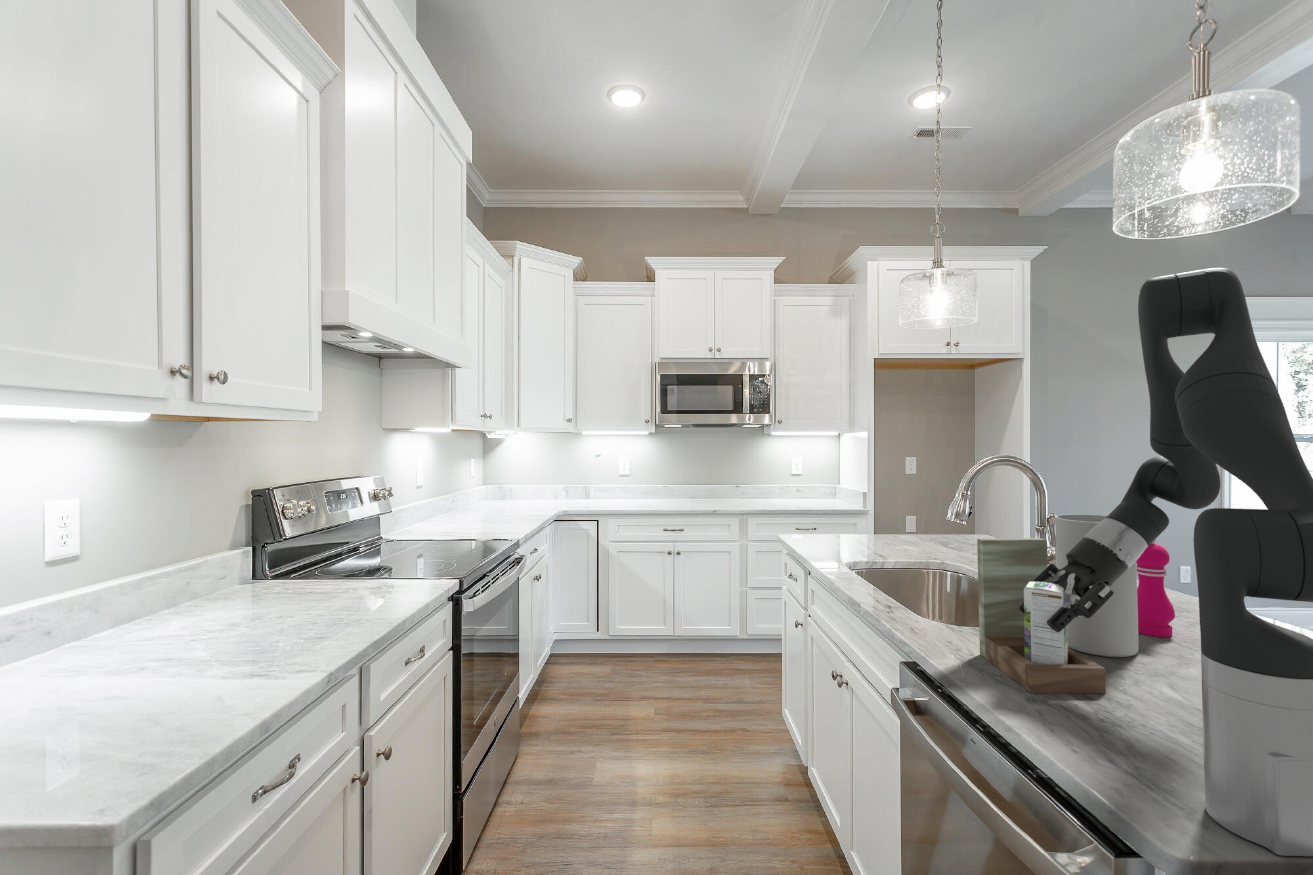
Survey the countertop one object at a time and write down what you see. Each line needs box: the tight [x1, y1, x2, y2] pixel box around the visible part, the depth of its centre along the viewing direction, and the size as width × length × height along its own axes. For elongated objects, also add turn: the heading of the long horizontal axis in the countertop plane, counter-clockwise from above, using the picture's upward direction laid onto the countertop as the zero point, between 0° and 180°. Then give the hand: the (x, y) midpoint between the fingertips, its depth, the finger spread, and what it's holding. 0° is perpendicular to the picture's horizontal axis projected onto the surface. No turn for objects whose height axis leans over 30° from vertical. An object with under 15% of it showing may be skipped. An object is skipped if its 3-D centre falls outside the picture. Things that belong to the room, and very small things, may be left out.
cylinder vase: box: [1054, 513, 1140, 658], centre depth 113 cm, size 12×12×25 cm
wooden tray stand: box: [976, 537, 1107, 694], centre depth 101 cm, size 17×12×22 cm
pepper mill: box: [1136, 539, 1176, 638], centre depth 120 cm, size 7×7×20 cm
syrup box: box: [1024, 582, 1069, 664], centre depth 99 cm, size 6×6×14 cm
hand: (1037, 620), depth 99 cm, fingers closed on syrup box, 7 cm apart
